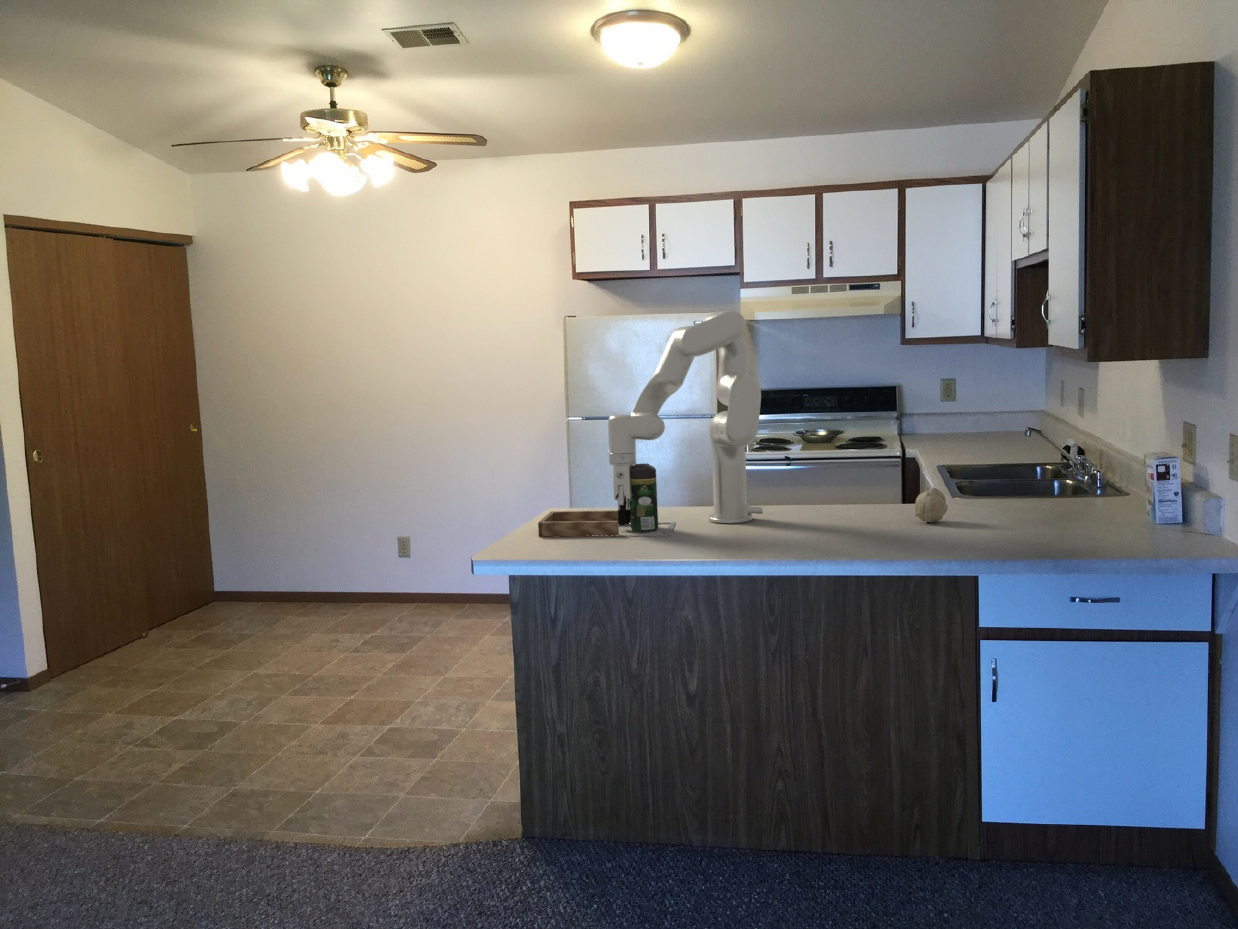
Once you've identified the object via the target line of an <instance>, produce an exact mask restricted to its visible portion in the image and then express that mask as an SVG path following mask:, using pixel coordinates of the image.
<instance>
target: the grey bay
mask: <svg viewBox="0 0 1238 929" xmlns="http://www.w3.org/2000/svg"><path fill="white" fill-rule="evenodd" d="M676 523H677V522H675V521H672V522H671V521H668V522H666V521H665V522H662V521H660V522H659V521H658V525H668V527H667V529H666V532H665V533H661V534H659V533H658V534H654V533H653V534H619V535H618V536H633V537H671V535H672V533H673V530H674V527H675V525H676ZM618 536H617V537H618Z"/></svg>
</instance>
